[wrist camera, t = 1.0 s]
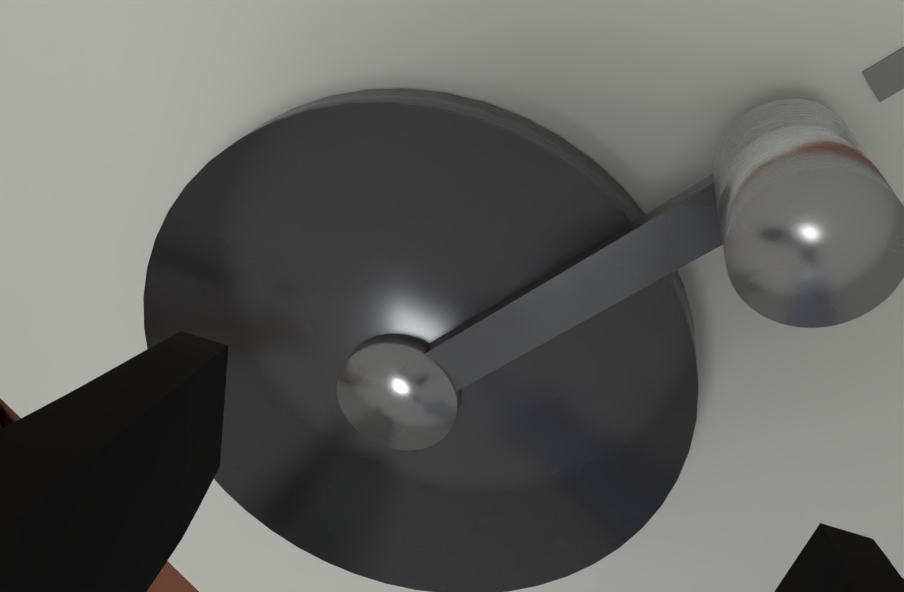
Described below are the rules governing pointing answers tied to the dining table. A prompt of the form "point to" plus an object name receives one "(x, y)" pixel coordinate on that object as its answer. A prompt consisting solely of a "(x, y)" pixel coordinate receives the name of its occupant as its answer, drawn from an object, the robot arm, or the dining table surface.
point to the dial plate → (518, 91)
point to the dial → (488, 321)
